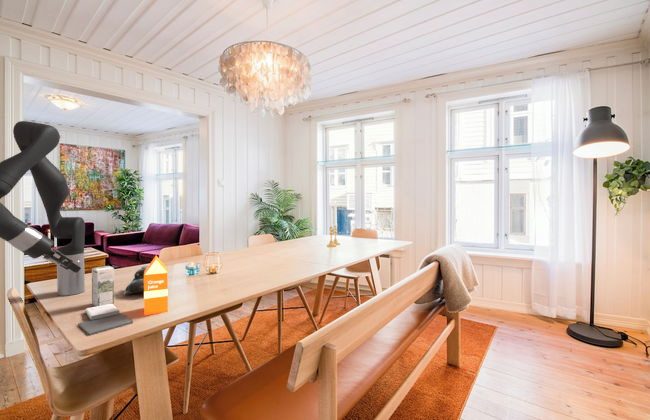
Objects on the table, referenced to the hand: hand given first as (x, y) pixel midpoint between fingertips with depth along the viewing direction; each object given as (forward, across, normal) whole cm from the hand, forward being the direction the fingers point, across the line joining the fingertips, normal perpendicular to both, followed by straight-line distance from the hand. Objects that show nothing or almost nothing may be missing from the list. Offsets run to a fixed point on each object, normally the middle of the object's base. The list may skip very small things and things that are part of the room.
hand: (74, 269), depth 112 cm
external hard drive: (+14, -12, +8) cm, 20 cm away
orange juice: (+24, -23, -1) cm, 33 cm away
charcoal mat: (+12, -22, +10) cm, 27 cm away
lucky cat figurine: (+29, +2, -6) cm, 30 cm away
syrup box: (+18, 0, +5) cm, 18 cm away
